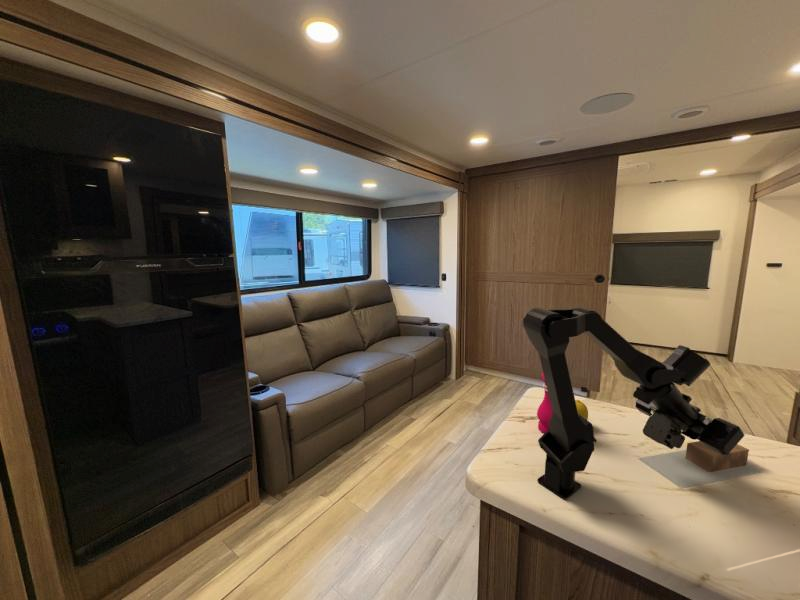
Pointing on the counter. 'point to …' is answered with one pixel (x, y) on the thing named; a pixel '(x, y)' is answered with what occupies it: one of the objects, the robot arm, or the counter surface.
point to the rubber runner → (691, 470)
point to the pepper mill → (544, 410)
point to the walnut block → (715, 457)
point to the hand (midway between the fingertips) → (700, 438)
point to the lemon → (582, 409)
